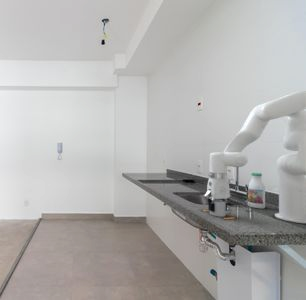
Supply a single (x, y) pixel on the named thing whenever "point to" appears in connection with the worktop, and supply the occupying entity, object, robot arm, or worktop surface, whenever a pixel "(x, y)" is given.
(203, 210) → the tape marks
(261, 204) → the milk bottle
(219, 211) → the pot
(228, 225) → the worktop surface
